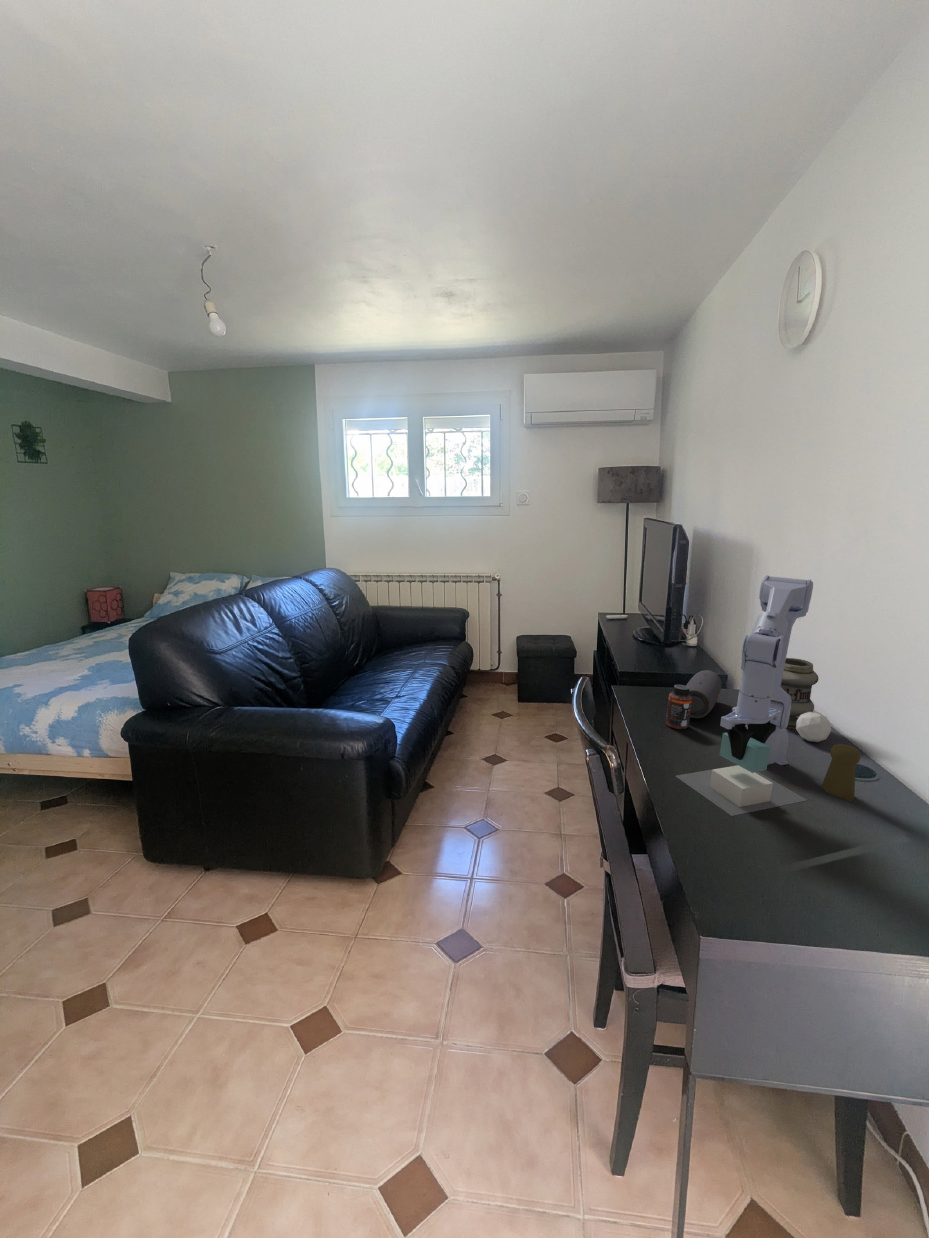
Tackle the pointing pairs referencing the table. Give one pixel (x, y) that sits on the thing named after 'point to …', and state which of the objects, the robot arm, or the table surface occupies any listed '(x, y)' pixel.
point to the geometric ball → (813, 726)
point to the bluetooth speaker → (703, 692)
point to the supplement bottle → (679, 707)
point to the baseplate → (702, 786)
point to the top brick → (747, 754)
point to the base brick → (741, 785)
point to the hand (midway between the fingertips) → (745, 755)
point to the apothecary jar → (798, 687)
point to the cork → (842, 772)
